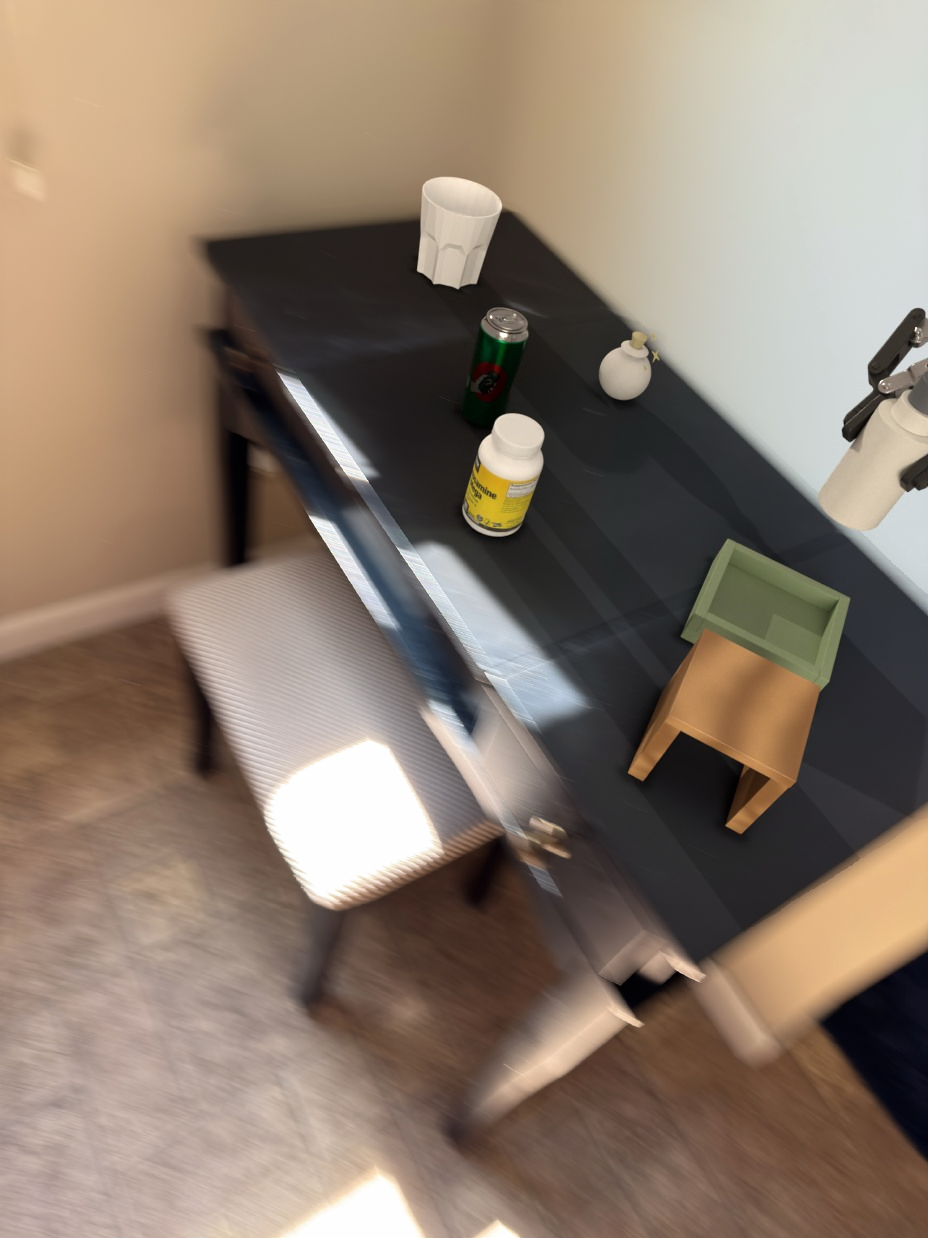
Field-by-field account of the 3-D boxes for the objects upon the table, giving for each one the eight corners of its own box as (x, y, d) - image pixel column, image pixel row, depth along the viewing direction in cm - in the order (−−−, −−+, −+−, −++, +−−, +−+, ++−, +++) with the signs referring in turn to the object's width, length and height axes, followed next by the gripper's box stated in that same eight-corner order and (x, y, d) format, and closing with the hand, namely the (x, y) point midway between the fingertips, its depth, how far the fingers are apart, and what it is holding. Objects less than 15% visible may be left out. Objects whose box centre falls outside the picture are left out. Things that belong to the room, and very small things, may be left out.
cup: (444, 299, 110) (460, 223, 102) (394, 259, 114) (406, 183, 106) (499, 282, 115) (518, 209, 108) (450, 244, 119) (464, 171, 112)
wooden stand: (767, 745, 75) (821, 686, 68) (740, 836, 69) (796, 781, 62) (662, 690, 77) (705, 627, 70) (626, 775, 70) (669, 714, 63)
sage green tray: (832, 620, 87) (850, 597, 84) (809, 703, 79) (829, 681, 77) (713, 561, 89) (727, 537, 86) (680, 637, 81) (695, 613, 78)
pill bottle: (451, 500, 86) (474, 410, 78) (504, 491, 89) (533, 403, 81) (477, 544, 83) (504, 456, 75) (532, 533, 86) (564, 447, 78)
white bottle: (884, 503, 73) (980, 380, 64) (875, 540, 70) (975, 416, 60) (824, 475, 74) (910, 350, 64) (812, 510, 70) (902, 383, 61)
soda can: (510, 427, 96) (539, 332, 87) (468, 431, 94) (494, 334, 85) (493, 398, 99) (519, 304, 90) (452, 402, 97) (475, 305, 88)
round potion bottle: (624, 377, 107) (654, 304, 100) (655, 415, 103) (688, 342, 96) (583, 380, 105) (610, 306, 97) (612, 420, 101) (643, 346, 93)
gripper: (988, 216, 63) (802, 383, 67) (1165, 327, 57) (950, 506, 60) (979, 274, 70) (811, 423, 73) (1137, 380, 63) (944, 538, 67)
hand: (874, 459), depth 67 cm, fingers closed on white bottle, 5 cm apart
